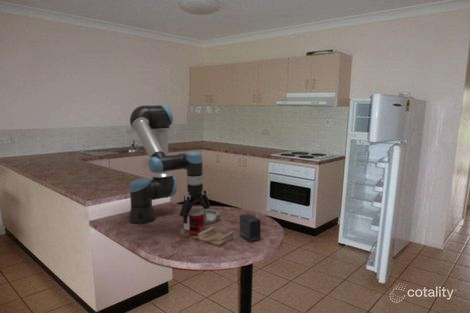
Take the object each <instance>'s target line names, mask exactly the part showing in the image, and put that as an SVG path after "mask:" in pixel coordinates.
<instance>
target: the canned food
mask: <svg viewBox="0 0 470 313" xmlns="http://www.w3.org/2000/svg"><path fill="white" fill-rule="evenodd" d="M188 216H189V228H190V230H189V234H190V235H193V236H198V234H199V233H201V232H203V231H204V229H205V224H204V211H202V209H191V210H190V213H189V215H188Z"/></svg>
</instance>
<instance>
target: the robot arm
mask: <svg viewBox="0 0 470 313" xmlns="http://www.w3.org/2000/svg"><path fill="white" fill-rule="evenodd" d="M173 122H174V116H173V112H172V110H171V109H170V107H169V106H168V105H157V104H156V105H140V106H138V107H136V108H134V109H133V111H132V112H131V115H130V117H129V123H130V124H129V125H130V126H131V129H132V130H133V131H134V132H136V134H137V137H138V138H139V141H141V144H142V145H143V148H144V149H145V152H146V153H147V156H148V157H149V158H148V161H147V165H148V170H149V171H150V172H151V173H153V175H152V179H151V178H150V177H141V178H137V179H134V180H132V181H131V182H130V183H129V196H130V197H129V198H130V210H129V215H128V222H129V223H131V224H135V225H137V224H138V225H140V224H143V225H144V224H148V223H151V222H154V221H155V220H156V219H157V216H156V212H155V209H154V208H153V202H152V201H155V200H159V199H165V198H166V199H167V198H170V197H171V198H172V197H173V196H175V194H176V193H177V189H178V182H177V179H176V177H174V175H173V174H172V172H171V171H179V170H186V182H187V189H186V190H187V192H188V195H184V196H183V202H182V205H181V208H180V209H181V210H180V211H179V212H180V213H179V216H180V217H182V219H183V220H182V222H183V228H184V229H186V230H190V228H189V216H188V215H189V213H190V211H191V210H192V208H193V206H194V205H195V204H196V203H199V204H200V205H201V207H202V208H201V210H202V211H204V221H206V222H207V214H208V209H210V207H211V203H210V201H209V198H208V195H207V191H206V190H204V185H203V154H202V153H201V152H200V151H188V152H187V153H185V152H180V153H177V154H171V155H169V140H168V139H169V138H168V131H169V130H170V126H172V125H173Z"/></svg>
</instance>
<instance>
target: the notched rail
mask: <svg viewBox="0 0 470 313" xmlns="http://www.w3.org/2000/svg"><path fill="white" fill-rule="evenodd" d="M180 236H181V237H183V238H186V239H190V240H193V241H197V242H201V243H204V244H207V245H211V246H214V247H217V248H221V247H222V246H224V245H225V244H227V243H228V242H229V243H230V242H231V241H232V240H233V239H234V232H233V231H230V232H228V233H227V234H224V233H221V232H216V227H214V226H211V227H209V228H207V229H205V228H204V231H203V232H201V233H199V234H198V236H193V235H190V234H189V230H186V229H184V227H183V228H181V229H180Z"/></svg>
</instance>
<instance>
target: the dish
mask: <svg viewBox="0 0 470 313" xmlns="http://www.w3.org/2000/svg"><path fill="white" fill-rule="evenodd" d="M219 218H221V213H220V212H218V210H216V209H211V208H209V209H208V214H207V222H206V221H204V225H211V224H213V223H217V222H218V221H219Z"/></svg>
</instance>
